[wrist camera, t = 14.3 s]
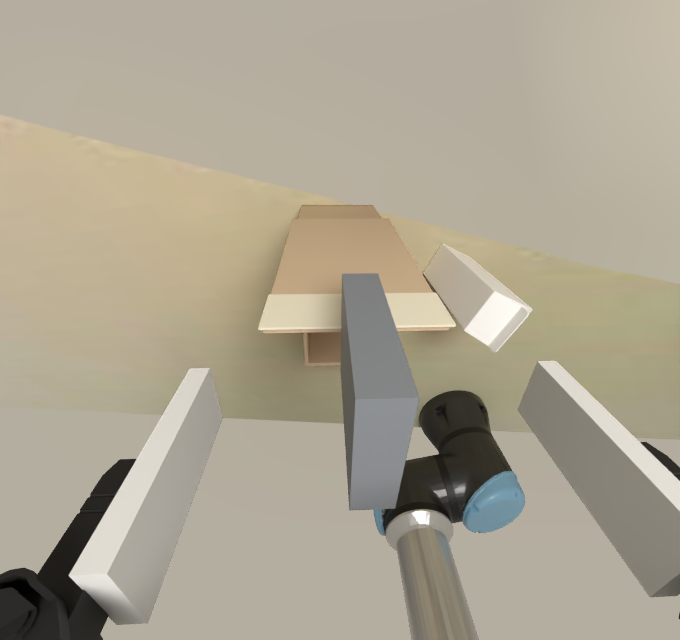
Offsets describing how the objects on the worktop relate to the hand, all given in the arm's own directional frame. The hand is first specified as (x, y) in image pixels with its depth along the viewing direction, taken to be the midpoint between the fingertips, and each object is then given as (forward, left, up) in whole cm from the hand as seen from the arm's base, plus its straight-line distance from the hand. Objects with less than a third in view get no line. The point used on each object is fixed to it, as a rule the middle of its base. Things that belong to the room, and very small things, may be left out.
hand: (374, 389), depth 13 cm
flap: (-4, 0, -14) cm, 14 cm away
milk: (-10, -19, -41) cm, 47 cm away
